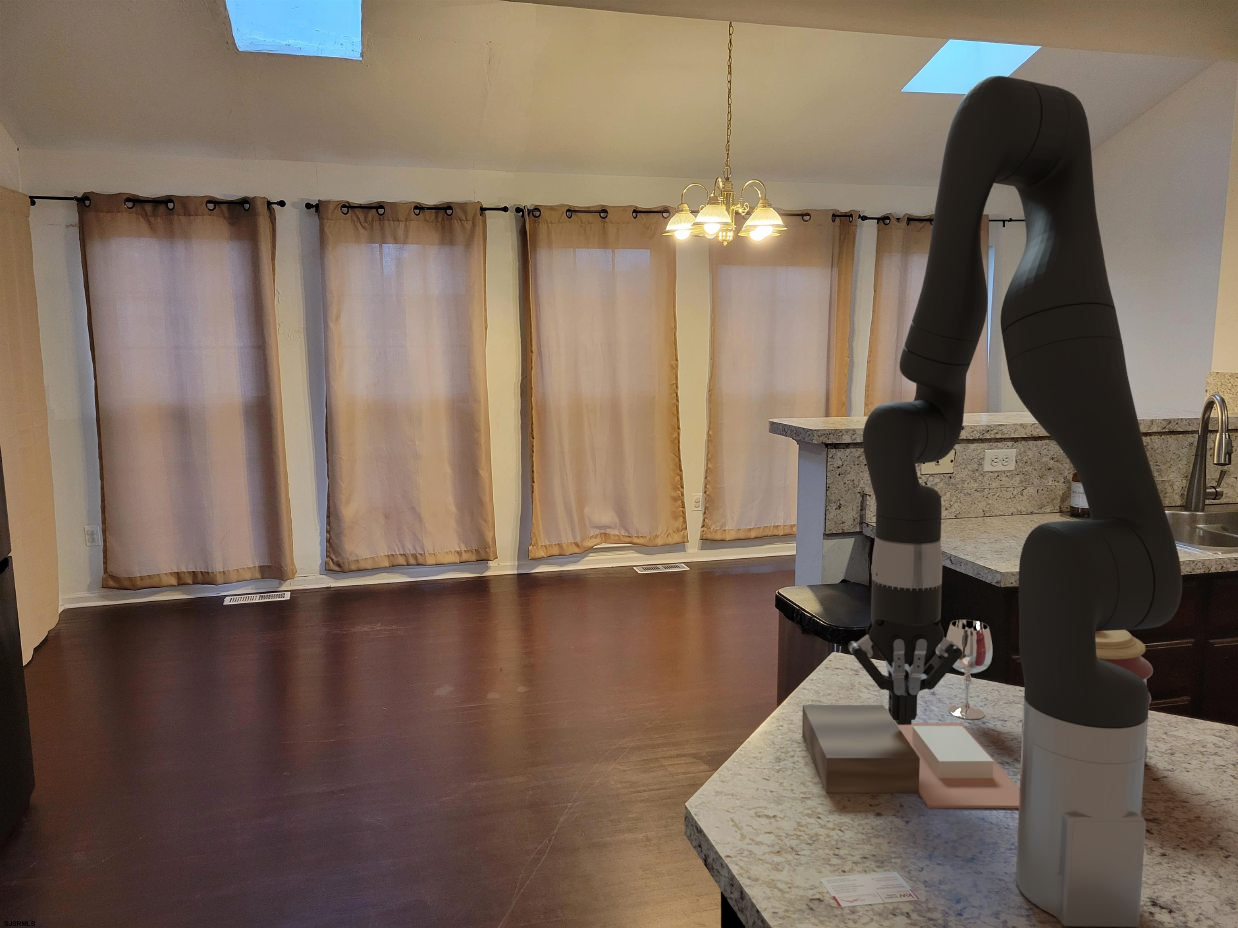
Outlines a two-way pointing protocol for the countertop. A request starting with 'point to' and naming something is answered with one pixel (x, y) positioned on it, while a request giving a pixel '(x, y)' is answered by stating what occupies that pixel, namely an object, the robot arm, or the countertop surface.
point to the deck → (859, 749)
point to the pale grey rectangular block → (952, 752)
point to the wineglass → (970, 659)
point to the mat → (963, 783)
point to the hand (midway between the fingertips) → (902, 721)
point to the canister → (1123, 655)
